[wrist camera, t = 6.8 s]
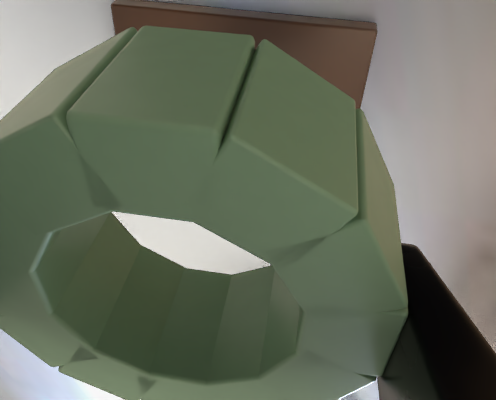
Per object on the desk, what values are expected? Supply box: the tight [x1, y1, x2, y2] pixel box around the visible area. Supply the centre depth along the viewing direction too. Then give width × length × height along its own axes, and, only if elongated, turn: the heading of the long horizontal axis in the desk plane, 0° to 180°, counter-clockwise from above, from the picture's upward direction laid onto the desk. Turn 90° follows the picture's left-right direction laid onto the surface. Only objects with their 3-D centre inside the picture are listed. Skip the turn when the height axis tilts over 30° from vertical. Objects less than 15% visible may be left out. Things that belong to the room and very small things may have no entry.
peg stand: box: [111, 0, 377, 109], centre depth 19 cm, size 10×10×6 cm
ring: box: [0, 26, 408, 400], centre depth 8 cm, size 7×7×3 cm
